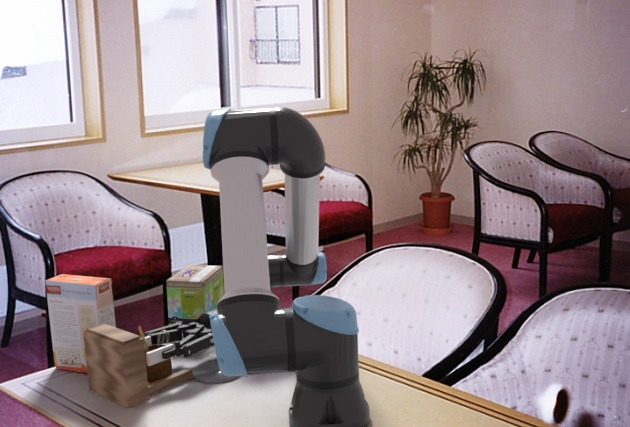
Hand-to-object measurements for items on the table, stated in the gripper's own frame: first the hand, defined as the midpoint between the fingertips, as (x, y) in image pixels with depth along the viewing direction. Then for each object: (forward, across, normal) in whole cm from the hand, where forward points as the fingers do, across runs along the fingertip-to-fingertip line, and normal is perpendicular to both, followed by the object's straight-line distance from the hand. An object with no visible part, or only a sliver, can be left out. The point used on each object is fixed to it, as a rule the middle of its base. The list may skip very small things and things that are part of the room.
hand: (136, 355), depth 170 cm
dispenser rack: (-1, 0, -7) cm, 7 cm away
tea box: (-31, +18, -7) cm, 37 cm away
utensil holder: (-5, 0, -7) cm, 9 cm away
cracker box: (+1, +18, -7) cm, 19 cm away
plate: (-15, -8, -7) cm, 18 cm away
